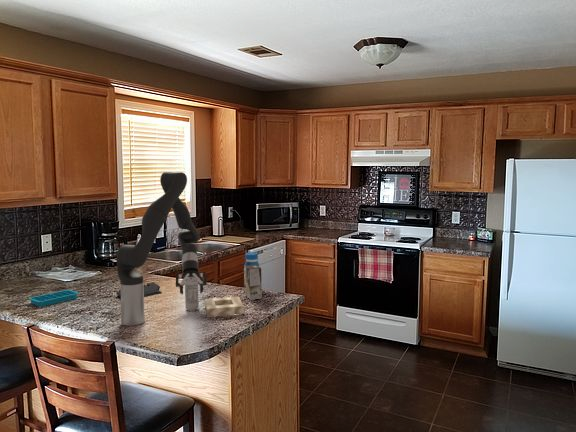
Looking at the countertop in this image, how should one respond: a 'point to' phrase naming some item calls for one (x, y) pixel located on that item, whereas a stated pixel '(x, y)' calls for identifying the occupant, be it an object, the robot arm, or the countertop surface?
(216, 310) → the socket board
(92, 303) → the countertop surface
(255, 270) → the coffee box
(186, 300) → the energy drink can
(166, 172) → the robot arm
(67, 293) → the ice cube tray
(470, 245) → the countertop surface
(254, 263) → the beverage bottle
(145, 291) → the dark slate chunk
